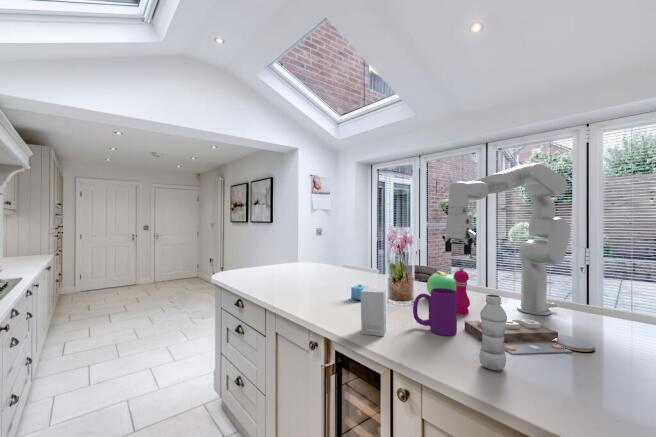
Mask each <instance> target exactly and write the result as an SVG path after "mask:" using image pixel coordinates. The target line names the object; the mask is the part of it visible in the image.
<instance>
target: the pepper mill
mask: <svg viewBox="0 0 656 437" xmlns="http://www.w3.org/2000/svg"><path fill="white" fill-rule="evenodd" d="M453 275H454V279H455V280H456V281H455V285H456V292H457V315H461V316H463V315H466V316H467V315H468V314H469V311H470V310H469V307H470V305H471V301H470V298H469V296H468V294H467V286H468V280H469V279H470V274H469V273H468V272H467V271H465V270H464V267H463V266H460V267H459V268H458V270H456V271H455V272H454V274H453Z"/></svg>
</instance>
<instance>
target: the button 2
mask: <svg viewBox="0 0 656 437" xmlns="http://www.w3.org/2000/svg"><path fill="white" fill-rule="evenodd" d="M519 320H520V325H522V326H524V327H526V328H529V329H530V328H540V327H541V325H542V324H541V323H540V322H538V321H535V320H533V319H519Z"/></svg>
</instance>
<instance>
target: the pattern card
mask: <svg viewBox="0 0 656 437" xmlns="http://www.w3.org/2000/svg"><path fill="white" fill-rule="evenodd" d="M555 343H556V342H518V343H504V348H505V352H507V353H508V354H509V355H511V356H512V355H513V356H514V355H515V356H517V355H519V356H521V355H545V354H546V355H549V354H551V355H552V354H573V352H574V351H572V350H570V349H568V348H566V347H564V346H562V345H560V344H558V345H556V344H557V343H556V344H555ZM559 345H560V346H559ZM561 346H562V347H561ZM563 347H564V348H563ZM565 348H566V349H565Z"/></svg>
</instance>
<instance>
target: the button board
mask: <svg viewBox="0 0 656 437" xmlns="http://www.w3.org/2000/svg"><path fill="white" fill-rule="evenodd" d="M511 320H512V321H514V322H516V323H518V324H519V329H506V328H505V334H504V344H507V343H543V342H553V341H552V340H553V339H555V338H558V339H559V332H558V331H556V330H555V329H552V328H549V327H547V326H545V325H543V324H541V327H540V328H530V329H529V328H526V327H524V326H522V325H520V320H521V319H511ZM478 321H479V320H464V330H466V331H467V332H468V333H469V334H472V335H473V336H474V337H476V338H477V339H478V340H480V341H481V342H482V327H480V326H479V325H478Z"/></svg>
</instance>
